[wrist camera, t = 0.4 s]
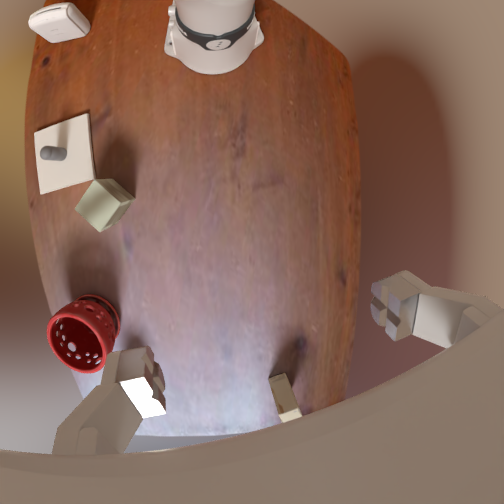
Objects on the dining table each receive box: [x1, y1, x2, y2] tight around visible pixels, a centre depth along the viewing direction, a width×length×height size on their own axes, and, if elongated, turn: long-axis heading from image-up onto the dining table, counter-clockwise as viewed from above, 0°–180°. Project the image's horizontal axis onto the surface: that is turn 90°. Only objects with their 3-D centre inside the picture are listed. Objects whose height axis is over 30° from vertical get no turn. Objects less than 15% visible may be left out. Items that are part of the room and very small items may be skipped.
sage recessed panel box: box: [75, 179, 135, 232], centre depth 47 cm, size 6×6×9 cm
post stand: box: [34, 114, 96, 194], centre depth 43 cm, size 13×13×8 cm
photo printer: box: [29, 3, 90, 43], centre depth 34 cm, size 10×4×12 cm, turn 84°
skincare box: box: [268, 373, 302, 423], centre depth 59 cm, size 6×4×12 cm
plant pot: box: [47, 294, 120, 373], centre depth 50 cm, size 13×13×12 cm
